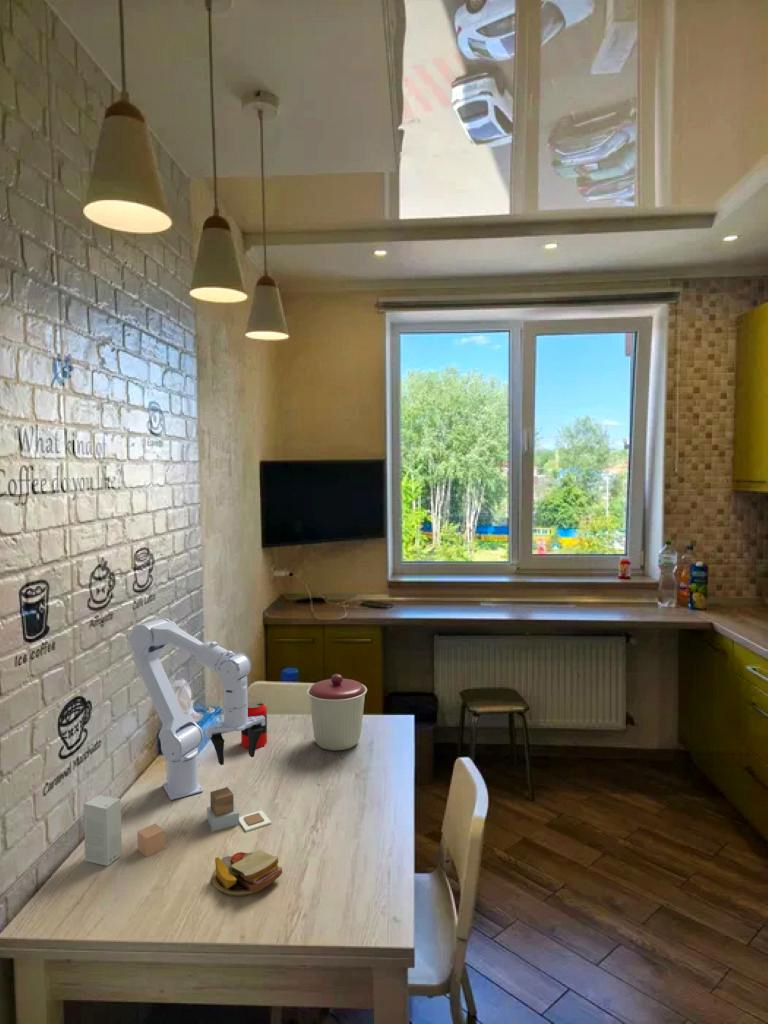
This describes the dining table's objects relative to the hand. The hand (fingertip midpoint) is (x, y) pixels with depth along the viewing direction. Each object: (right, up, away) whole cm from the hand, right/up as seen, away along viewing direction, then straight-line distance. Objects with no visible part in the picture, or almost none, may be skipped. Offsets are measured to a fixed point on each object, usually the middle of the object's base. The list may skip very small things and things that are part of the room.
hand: (236, 759), depth 145 cm
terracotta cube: (-13, -11, -20) cm, 26 cm away
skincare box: (-22, -11, -23) cm, 34 cm away
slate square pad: (-1, -11, -10) cm, 14 cm away
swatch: (+6, -10, -10) cm, 16 cm away
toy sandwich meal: (+10, -11, -29) cm, 33 cm away
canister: (+22, -9, +32) cm, 40 cm away
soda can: (-3, -9, +33) cm, 34 cm away
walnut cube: (-1, -8, -10) cm, 12 cm away
